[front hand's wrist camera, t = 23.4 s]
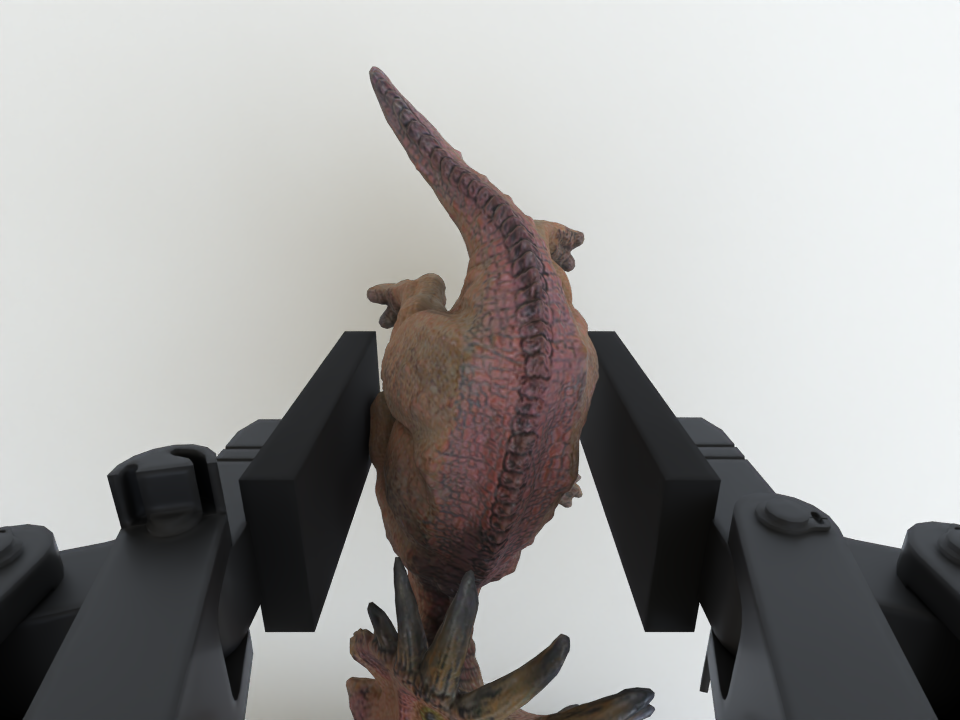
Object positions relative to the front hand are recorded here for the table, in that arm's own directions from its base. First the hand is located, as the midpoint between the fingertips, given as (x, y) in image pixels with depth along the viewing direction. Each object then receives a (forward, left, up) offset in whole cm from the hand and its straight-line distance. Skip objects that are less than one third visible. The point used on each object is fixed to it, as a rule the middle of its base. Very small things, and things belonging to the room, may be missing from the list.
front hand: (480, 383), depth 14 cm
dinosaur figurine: (0, 0, -1) cm, 1 cm away
